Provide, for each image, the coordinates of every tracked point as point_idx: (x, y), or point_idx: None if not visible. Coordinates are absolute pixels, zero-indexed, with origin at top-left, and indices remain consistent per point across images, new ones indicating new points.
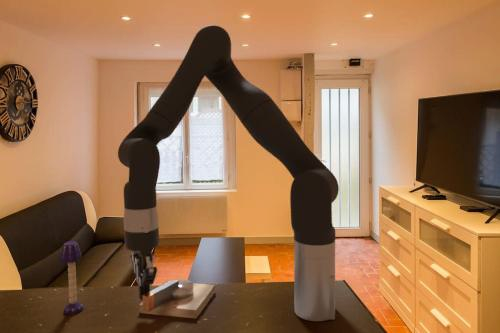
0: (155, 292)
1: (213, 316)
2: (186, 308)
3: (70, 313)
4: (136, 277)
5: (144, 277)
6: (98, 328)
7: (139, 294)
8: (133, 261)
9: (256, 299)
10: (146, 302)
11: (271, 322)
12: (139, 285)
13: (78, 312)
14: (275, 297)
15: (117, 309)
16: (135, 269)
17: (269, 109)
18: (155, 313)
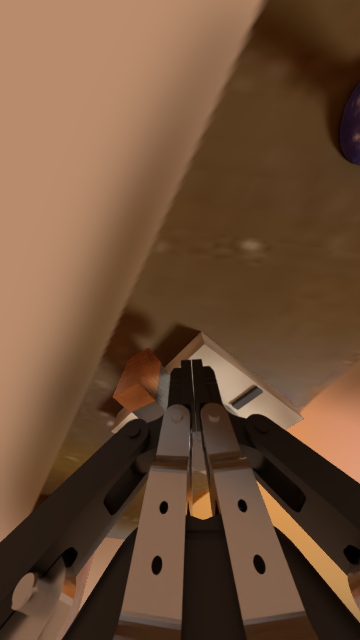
0: (142, 418)
1: (114, 434)
2: (126, 421)
3: (355, 90)
4: (246, 420)
5: (41, 509)
6: (169, 207)
7: (192, 369)
8: (300, 616)
9: (144, 484)
10: (128, 374)
11: (66, 477)
12: (189, 402)
13: (339, 137)
14: (139, 498)
15: (260, 283)
16: (218, 503)
17: None
18: (172, 361)
